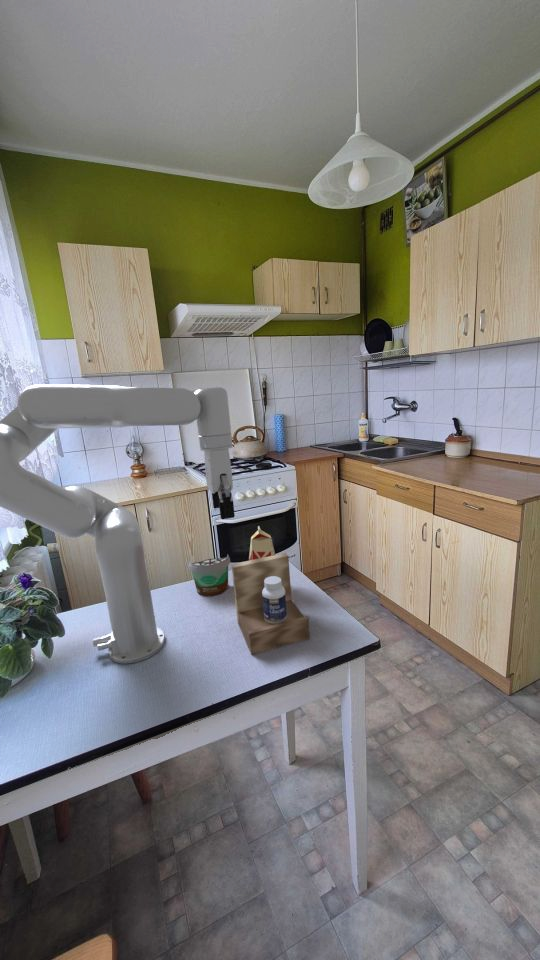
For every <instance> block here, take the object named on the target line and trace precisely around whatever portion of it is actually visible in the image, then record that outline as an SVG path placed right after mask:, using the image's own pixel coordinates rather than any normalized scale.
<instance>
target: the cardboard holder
mask: <svg viewBox="0 0 540 960" xmlns="http://www.w3.org/2000/svg"><path fill="white" fill-rule="evenodd" d="M289 560H290V559H289V555H288V554H287V553H286V552H285V553H280V554H275V555H274V556H269V557H264V558H259V559H255V560H250V561H249V560H246V561H241V562H236V563H232V564H231V563H230V564H231V573H232V582H233V584H232V585H233V590H234V592H233V593H234V602H235V610H236V617H237V619H236V621H237V625H238V627H239V629H240V633H241V634H242V637H243V639H244V641H245V643H246V645H247V648H248V650H249V653H250V655H251V656H253V655H256V654H259V653H263V652H266V651H270V650H274V649H277V648H280V647H281V648H282V647H283V646H288V645H292V644H295V643H299V642H302V641H305V640H309V639H311V632H310V619H309V617H308V615H306V616H304V614H303V613H302V612H301V610H300V609H299V607H298V606H297V605H296V603H295V602H294V601H293V599H292V588H291V587H292V585H291V575H290V561H289ZM271 576H277V577H279V578H281V581H282V586H283V587H284V589H285V596H286V610H287V618H286V620H285V621H283V622H281V623H278V624H271V623H268V622H267V621H266V620H265V619H264V611H263V598H262V590H263V589H264V587H265V586H264V580H265V579H266V578H267V577H271Z"/></svg>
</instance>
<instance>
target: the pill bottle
mask: <svg viewBox="0 0 540 960" xmlns="http://www.w3.org/2000/svg"><path fill="white" fill-rule="evenodd" d="M264 586H265V587H264V589H263V590H262V598H263V611H264V619H265V620H266V621H267V622H268V623H271V624H278V623H281V622H283V621H285V620H286V618H287V610H286V596H285V589H284V587H283V586H282V581H281V578H279V577H277V576H271V577H267V578H266V579H265V580H264Z"/></svg>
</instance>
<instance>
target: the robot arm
mask: <svg viewBox="0 0 540 960" xmlns="http://www.w3.org/2000/svg"><path fill="white" fill-rule="evenodd" d="M195 421H196V425H197V434H198V440H199V449H200V451H201V452H202V451H203V453H204V454H203V455H204V469H205V481H206V487H207V489H208V490H209V491H210V493H211V499H212V507H213V509H219V515H220V519H221V520H228V519H232V518H235V506H234V499H233V495H232V490H233V489H234V485H233V484H234V483H233V471H232V464H231V456H230V452H229V451H230V450H229V449H232V448H233V447H234V446H233V438H232V437H233V436H232V428H231V427H232V426H231V418H230V407H229V397H228V392H227V390H226V389H225V388H224V387H218V386H217V387H204V388H199V389H196V390H190V389H188V388H185V387H149V386H148V387H139V386H138V387H137V386H133V387H132V386H131V387H130V386H120V385H107V384H106V385H105V384H104V385H103V384H102V385H101V384H100V385H99V384H98V385H97V384H96V385H95V384H92V385H91V384H41V383H40V384H33V385H30V386H27V387H26V388H24V389H23V390H22V391H21V392H20V394H19V396H18V399H17V405H16V406H15V407H14V408H13V409H12V410H10V412H9V413H7V415H5V416H4V417H3V418H2V419H0V507H1V508H3V509H4V510H7V511H8V512H9V511H10V512H11V513H13V514H16V515H18V516H20V517H22V518H24V519H25V520H27V521H30V522H31V523H34V524H36V525H38V526H40V527H41V528H45V529H47V530H49V531H51V532H53V533H55V534H57V535H59V536H62V537H65V538H69V539H70V538H71V539H75V538H77V539H78V538H81V537H83V536H84V535H89V536H90V537H93V538H94V549H95V555H96V560H97V564H98V567H99V571H100V576H101V581H102V585H103V590H104V595H105V596H104V597H105V601H106V605H107V611H108V615H109V621H110V628H111V632H108V633H107V634H106V635H102V636H98V637H97V636H96V637H94V638H92V645H93V647H97V651H104V650H108V656H109V658H110V660H112V661H113V662H115V663H118V664H134V663H138V662H141V661H145V660H147V659H149V658H151V657H152V656H154V655H155V654H156V653H158V652H159V651H160V650H161V648H163V646H164V644H165V641H166V637H165V636H166V635H165V632H164V631H163V630H162V628H160V627H158V626H157V622H156V617H155V616H156V615H155V612H154V611H155V610H154V605H153V598H152V592H151V586H150V580H149V575H148V568H147V562H146V554H145V543H144V539H143V535H142V531H141V527H140V525H139V521H138V518H137V517H136V516H135V514H134V513H132V512H133V511H130V510H129V509H127V508H125V507H123V506H122V505H121V504H118V503H116V502H114V501H112V500H111V499H109V498H106V497H105V496H103V495H101V494H100V493H97V492H95V491H93V490H92V489H90V488H87V487H83V486H80V485H70V486H65V487H62V486H60V485H59V484H56V483H54V482H52V481H50V480H48V479H47V478H45V477H43V476H41V475H38V474H36V473H34V472H31V471H28V470H27V469H26V468H24V467H23V466H21V464H20V463H21V462H22V461H24V460H26V458H27V457H28V456H30V455H31V454H32V453H33V452H34V451H35V450H36V449H37V448H38V447H40V445H41V444H44V442H45V441H46V440H47V439H48V438H49V437H50V436H51V435H52V434H53V433H55V432H56V431H57V429H84V428H85V429H90V428H91V429H92V428H93V429H95V428H96V429H99V428H102V429H103V428H105V429H106V428H107V429H108V428H127V427H137V426H138V427H144V426H145V427H148V426H150V427H151V426H155V427H156V426H157V427H158V426H186V425H190V424H192V423H194V422H195Z"/></svg>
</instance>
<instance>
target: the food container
mask: <svg viewBox="0 0 540 960" xmlns="http://www.w3.org/2000/svg"><path fill="white" fill-rule="evenodd" d="M230 564H231V558H230V556H229V555H227V556H224V557H221V558H208V559H205V560H202V561H196V562H191V561H189V562H188V569H189V570H190V572H191V573H192V576H193V577H192V578H193V582H194V584H195V589H196V593H197V594H198V596H202V597H209V598H210V597H211V598H212V597H217V596H220V595H221V594H224V593H225V592H227V591H228V589H229V565H230Z"/></svg>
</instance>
